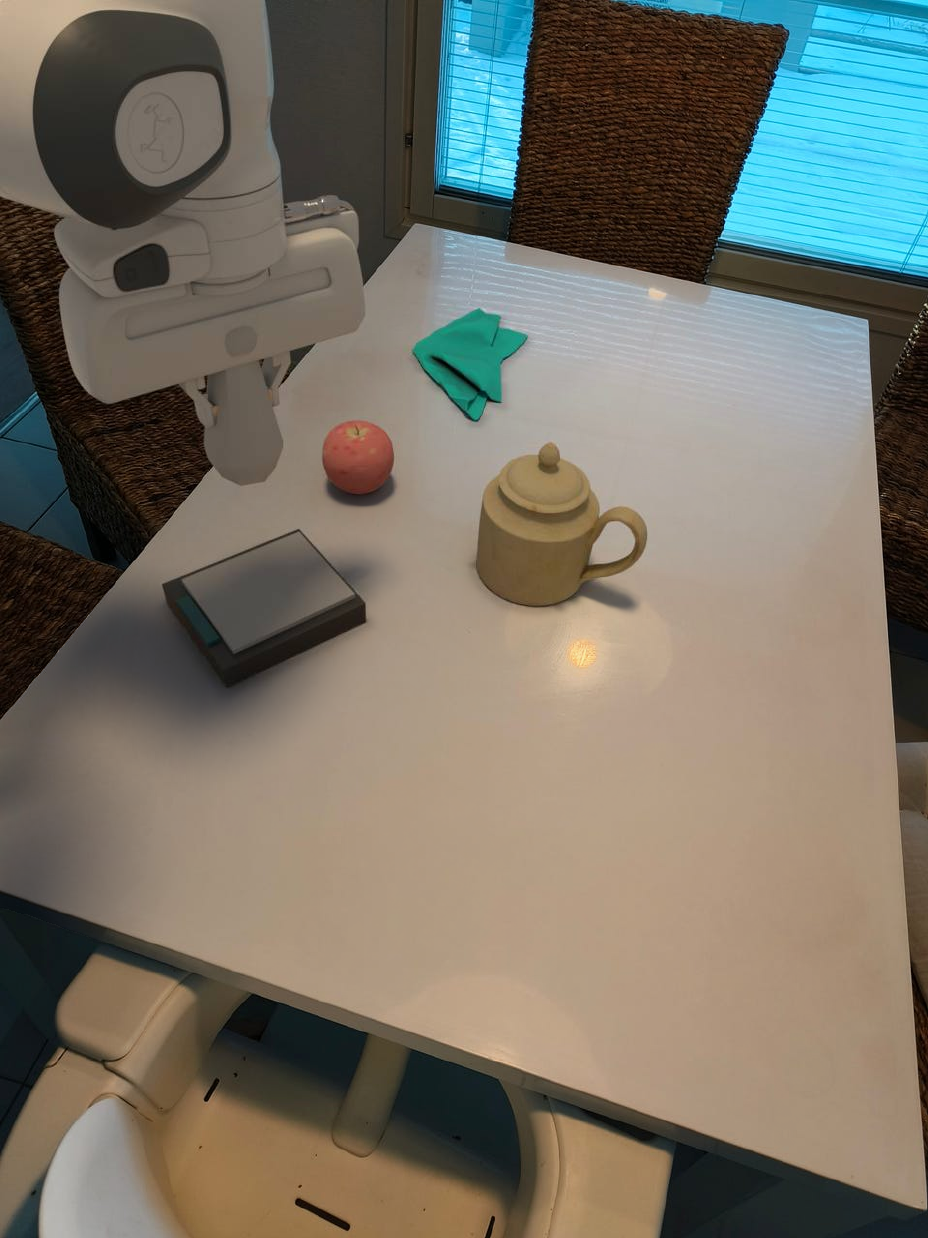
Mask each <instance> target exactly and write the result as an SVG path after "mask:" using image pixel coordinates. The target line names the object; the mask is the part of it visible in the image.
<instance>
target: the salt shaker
mask: <svg viewBox="0 0 928 1238" xmlns="http://www.w3.org/2000/svg"><path fill="white" fill-rule="evenodd" d="M224 345H225V348H226V350H227V353H228V354H229V355H230V356H232V357H236V356H240V355H244V354H248V353H250V352H251V351H253V350H254V348H255V347H256V345H257V334H256V332H255V331H254V329H253V327H249V326H241V327H238V328H235V329H232V330H231V331H229V332H228V333H227V334H226V338H225V344H224ZM261 368H262V366H261V363H260V360H257V361H254V362H251V363H247V364H244V365H240V366H237V367H234V368H230V369H227V370H223V371H220V372H217V373H213V374H210V375H207V380H206V381H207V383H206V393H207V395H208V400H210V401H212V402H213V403H215V404H216V405H218V414H217V424H216V425H215V426H213V427H210V428H206V427H205V426H204V431H203V432H204V433H203V446H204V451H205V455H206V457H207V459H208V461H209V462H210V464H211V465H212V466H213V467H214V469H215V471H217V472H218V474H219V475H220V476H221V478H223V479H224V480H227V481H230V482H231V483H234V484H235V485H238V486H240V487H243V486H249V485H254V484H260V483H265V482H266V481H267V480H268V478H269V477H270V476H271V475H272V473H273V472H274V471H275V469H276V468H277V465H278V462H279V460H280V456H281V455H282V452H283V449H284V440H283V437H282V433H281V429H280V426H279V423H278V420H277V416H276V413H275V409H274V407H273V406H272V403H271V399H270V396H269V393H268V390H267V386H266V383H265V380H264V376H263V373H262V370H261Z"/></svg>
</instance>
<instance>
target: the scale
mask: <svg viewBox="0 0 928 1238" xmlns="http://www.w3.org/2000/svg"><path fill="white" fill-rule="evenodd" d="M161 587H162V591H163V594H164V597H165V602H166V604H167V605H168V607H169V608H170V610H171V611H172V612H173V614H174V615H175V617H176V618H177V620H178V621H179V623H180V624H181V625H182V627H183V628H184V630H185V631H186V632H187V634H188V635H189V637H190V638H191V640H192V642H194V644H195V645H196V647H197V648H198V649H199V651H200V652H201V654H202V655H203V657H204V659H205V660H206V661H207V662H208V665H209V666H210V667H211V668H212V670H213V671H214V673H215V674H216V675H217V677H218V678H219V680H220V681H221V682H222V684H223V685H224V687H225V688H226V689H228V688H230V687H232V686H235V685H236V684H238V683H241V682H243V681H245V680H247V679H249V678H251V677H254V676H255V675H257V674H260V673H262V672H264V671H266V670H267V669H269V668H272V667H274V666H277V665H278V664H280V663H283V662H284V661H287V660H289V659H290V658H293V657H294V656H297V655H299V654H301V653H303V652H304V651H307V650H309V649H311V648H313V647H315V646H318V645H320V644H322V643H324V642H326V641H328V640H331V639H332V638H334V637H336V636H338V635H340V634H343V633H344V632H347V631H349V630H350V629H353V628H356V627H357V626H360V625H361V624H363V623H366V622H367V605H366V601H365V600H364V599H363V598H362V597H361V596H360V595H359V594H358V592H356V590H355V589H353V587H352V586H351V585H350V584H349V583H348V582H347V580H346V579H345V578H344V577H343V576H342V574H340V572H338V570H337V569H336V568H335V567H334V566H333V565H332V564H331V563H330V562H329V560H328V559H327V558H326V557H325V556H324V554H322V553H321V551H320V550H319V549H318V548H317V547H316V546H315V544H314V543H312V541H311V540H310V539H309V538H308V537H307V536H306V534H304V532H303V531H302V530H301V529H300V528H297V529H294V530H292V531H289V532H287V533H285V534H282V535H280V536H277V537H274V538H272V539H269V540H267V541H264V542H263V543H260V544H257V545H254V546H253V547H250V548H248V549H245V550H243V551H239V552H238V553H234V554H233V555H230V556H227V557H225V558H222V559H221V560H218V561H216V562H213V563H210V564H208V565H205V566H203V567H201V568H198V569H195V570H193V571H191V572H189V573H186V574H184V575H181V576H177V577H176V578H174V579H171V580H169V581H166V582H164V583H161Z"/></svg>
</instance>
